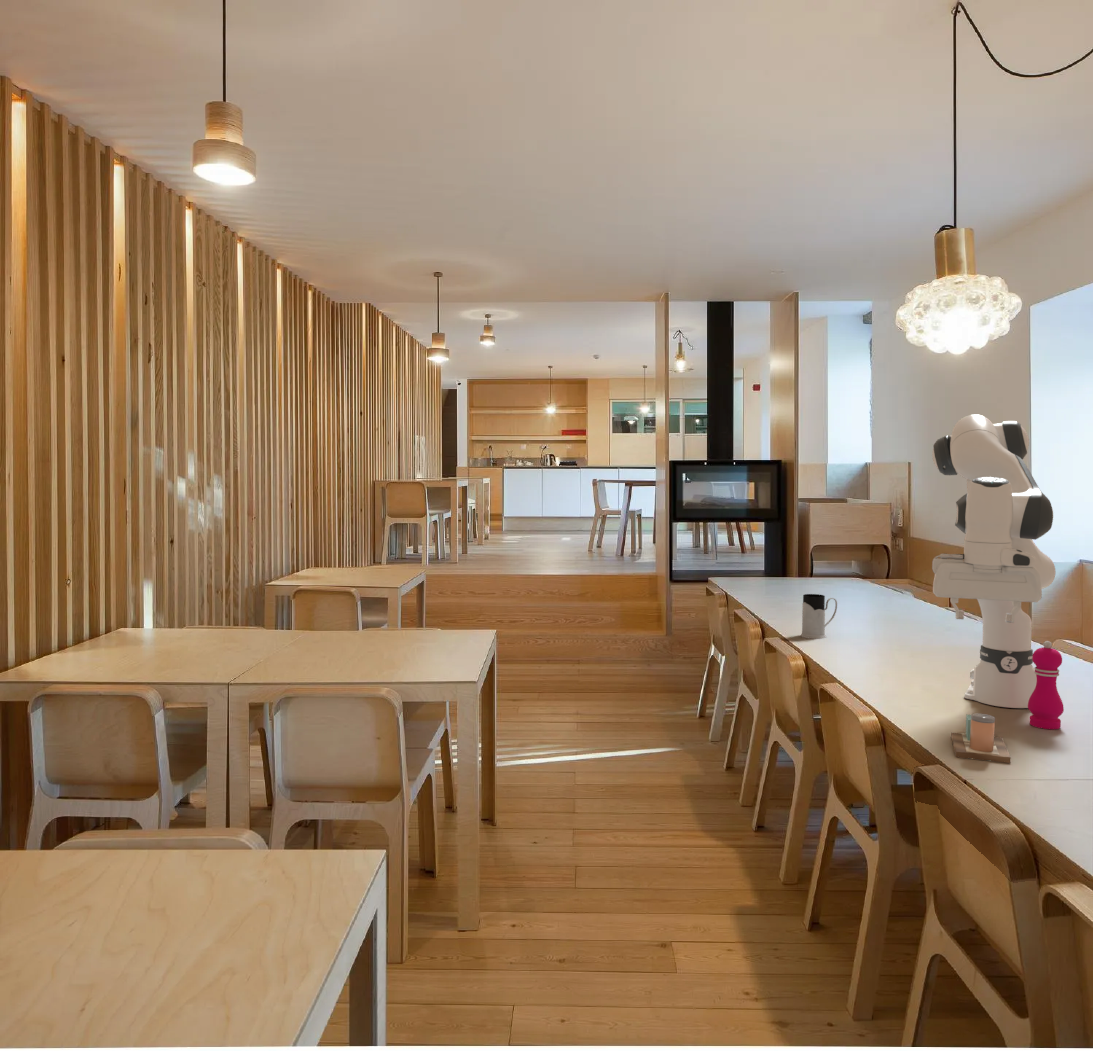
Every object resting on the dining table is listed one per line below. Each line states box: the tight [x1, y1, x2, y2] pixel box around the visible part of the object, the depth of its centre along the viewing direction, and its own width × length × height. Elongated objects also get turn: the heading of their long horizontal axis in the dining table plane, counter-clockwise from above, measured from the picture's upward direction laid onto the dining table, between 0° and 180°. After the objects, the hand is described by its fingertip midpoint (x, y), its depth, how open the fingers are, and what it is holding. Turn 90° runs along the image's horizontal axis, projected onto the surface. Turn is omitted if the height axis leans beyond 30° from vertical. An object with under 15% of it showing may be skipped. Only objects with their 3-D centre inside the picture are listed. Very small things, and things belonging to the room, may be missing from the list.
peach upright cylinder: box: [970, 712, 996, 752], centre depth 176 cm, size 4×4×7 cm
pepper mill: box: [1027, 640, 1065, 730], centre depth 196 cm, size 7×7×20 cm
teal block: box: [965, 713, 971, 741], centre depth 182 cm, size 4×4×4 cm
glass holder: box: [800, 593, 838, 640], centre depth 306 cm, size 9×14×15 cm, turn 107°
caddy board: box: [950, 732, 1012, 764], centre depth 179 cm, size 14×10×1 cm
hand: (984, 620), depth 177 cm, fingers open, 8 cm apart
